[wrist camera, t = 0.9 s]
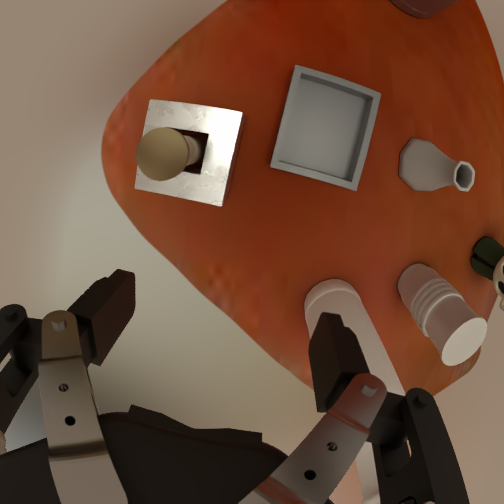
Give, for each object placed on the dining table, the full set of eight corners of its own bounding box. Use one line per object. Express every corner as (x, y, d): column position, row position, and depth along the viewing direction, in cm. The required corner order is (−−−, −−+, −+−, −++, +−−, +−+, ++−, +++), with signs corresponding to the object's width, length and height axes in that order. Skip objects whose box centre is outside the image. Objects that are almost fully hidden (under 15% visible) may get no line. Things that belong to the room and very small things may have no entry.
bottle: (363, 311, 39) (438, 499, 12) (315, 332, 41) (349, 530, 13) (347, 268, 37) (445, 479, 9) (294, 292, 38) (323, 522, 11)
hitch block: (165, 104, 30) (150, 99, 25) (245, 116, 30) (242, 112, 26) (151, 181, 34) (134, 188, 29) (227, 197, 34) (221, 206, 29)
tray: (293, 71, 28) (295, 64, 25) (372, 96, 28) (381, 93, 26) (269, 164, 32) (269, 166, 30) (348, 186, 33) (356, 191, 30)
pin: (182, 128, 31) (141, 124, 20) (217, 134, 31) (191, 131, 20) (175, 163, 33) (132, 176, 22) (209, 170, 33) (181, 185, 22)
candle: (386, 282, 37) (433, 349, 23) (421, 251, 35) (481, 305, 21) (406, 309, 39) (449, 374, 25) (439, 280, 37) (491, 337, 23)
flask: (406, 128, 29) (450, 128, 20) (446, 152, 30) (493, 161, 21) (389, 178, 32) (429, 194, 23) (430, 199, 33) (473, 220, 23)
